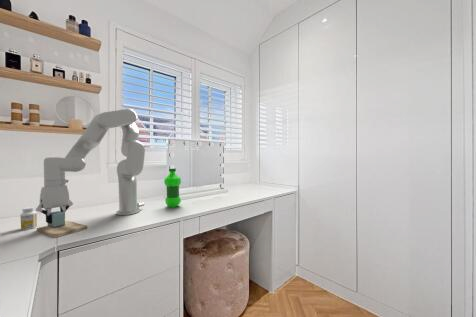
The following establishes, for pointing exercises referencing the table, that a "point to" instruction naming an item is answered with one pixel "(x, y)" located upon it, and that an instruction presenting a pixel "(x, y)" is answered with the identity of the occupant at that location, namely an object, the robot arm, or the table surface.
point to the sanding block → (57, 219)
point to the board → (62, 229)
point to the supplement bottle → (28, 218)
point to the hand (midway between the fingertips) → (55, 221)
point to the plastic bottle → (172, 188)
